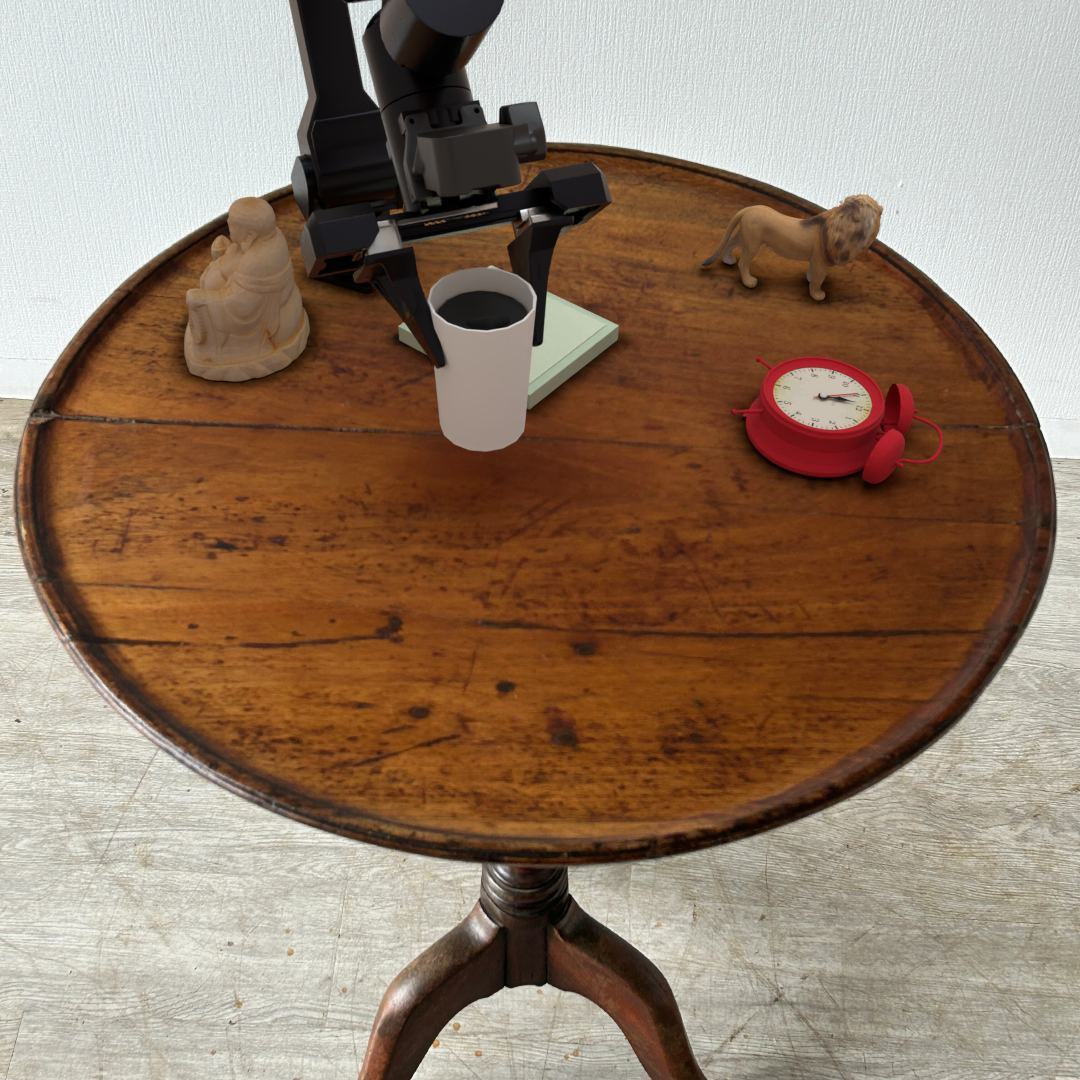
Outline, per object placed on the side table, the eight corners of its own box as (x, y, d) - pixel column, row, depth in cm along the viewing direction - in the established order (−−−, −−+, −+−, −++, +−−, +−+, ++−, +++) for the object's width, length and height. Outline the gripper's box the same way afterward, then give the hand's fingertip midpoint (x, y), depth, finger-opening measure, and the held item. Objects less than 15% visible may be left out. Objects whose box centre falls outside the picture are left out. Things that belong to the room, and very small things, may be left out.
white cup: (552, 418, 76) (559, 295, 69) (489, 470, 73) (489, 346, 65) (477, 377, 79) (476, 254, 71) (412, 425, 75) (404, 301, 68)
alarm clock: (757, 338, 90) (956, 350, 84) (761, 402, 94) (951, 418, 88) (721, 416, 83) (934, 435, 77) (727, 481, 87) (930, 504, 81)
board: (399, 340, 94) (397, 324, 93) (491, 279, 101) (491, 263, 100) (529, 410, 88) (529, 393, 87) (618, 339, 95) (619, 323, 94)
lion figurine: (862, 275, 103) (887, 184, 96) (863, 308, 99) (888, 216, 93) (702, 255, 104) (715, 165, 98) (697, 287, 101) (710, 195, 94)
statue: (332, 264, 83) (192, 231, 80) (298, 408, 92) (171, 382, 89) (339, 182, 91) (212, 149, 88) (307, 321, 101) (191, 295, 98)
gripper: (285, 78, 58) (362, 372, 60) (612, 30, 64) (676, 302, 65) (272, 146, 69) (337, 395, 70) (552, 101, 74) (608, 333, 76)
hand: (489, 356), depth 70 cm, fingers closed on white cup, 6 cm apart
